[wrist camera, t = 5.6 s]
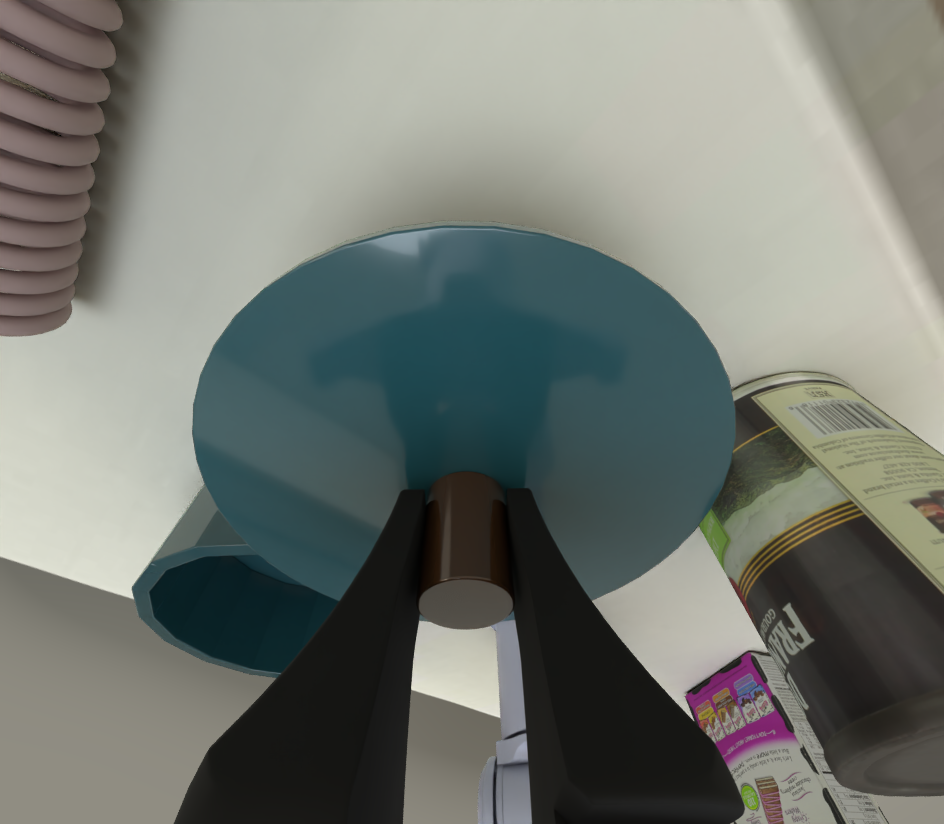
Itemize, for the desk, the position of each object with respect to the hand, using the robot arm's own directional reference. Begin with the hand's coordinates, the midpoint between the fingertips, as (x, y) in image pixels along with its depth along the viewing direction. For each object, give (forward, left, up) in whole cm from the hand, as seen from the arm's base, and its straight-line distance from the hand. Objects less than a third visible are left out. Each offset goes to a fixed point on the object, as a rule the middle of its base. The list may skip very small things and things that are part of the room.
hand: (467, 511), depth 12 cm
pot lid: (0, 0, -1) cm, 1 cm away
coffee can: (-13, -13, -10) cm, 20 cm away
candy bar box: (-46, -9, -10) cm, 48 cm away
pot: (-8, +15, -10) cm, 20 cm away
